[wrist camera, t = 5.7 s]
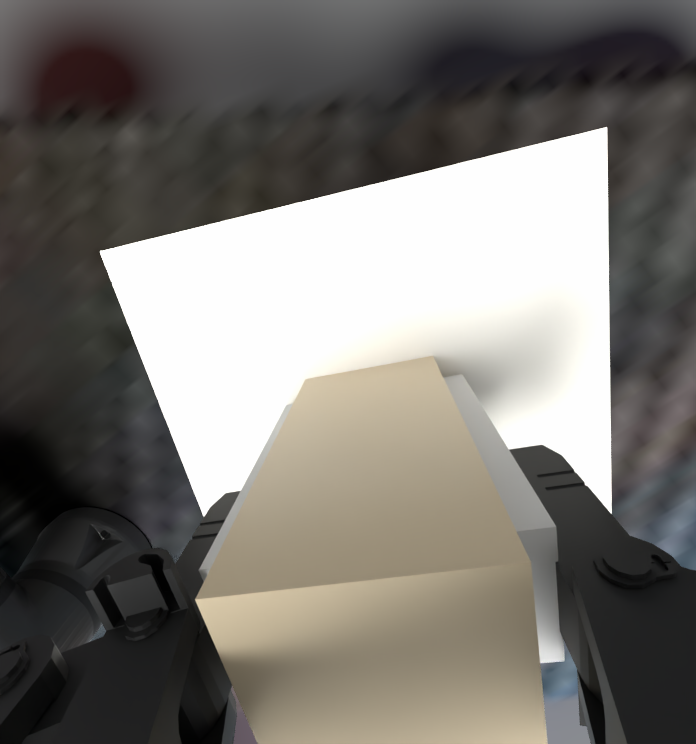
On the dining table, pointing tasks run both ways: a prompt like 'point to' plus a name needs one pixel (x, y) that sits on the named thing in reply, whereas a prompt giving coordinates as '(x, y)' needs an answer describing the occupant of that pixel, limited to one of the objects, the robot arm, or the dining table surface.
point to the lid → (383, 433)
